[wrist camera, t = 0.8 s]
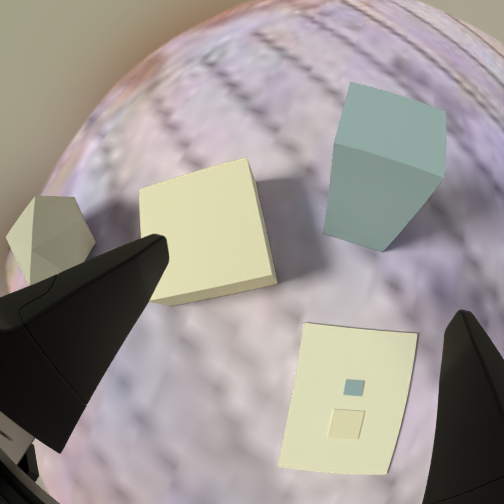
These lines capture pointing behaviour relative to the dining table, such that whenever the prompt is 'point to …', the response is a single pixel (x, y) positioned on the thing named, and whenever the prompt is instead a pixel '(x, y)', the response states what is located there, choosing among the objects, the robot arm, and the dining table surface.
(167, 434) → the dining table surface
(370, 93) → the blue brick
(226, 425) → the dining table surface
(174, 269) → the base brick
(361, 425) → the plate
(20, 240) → the die
